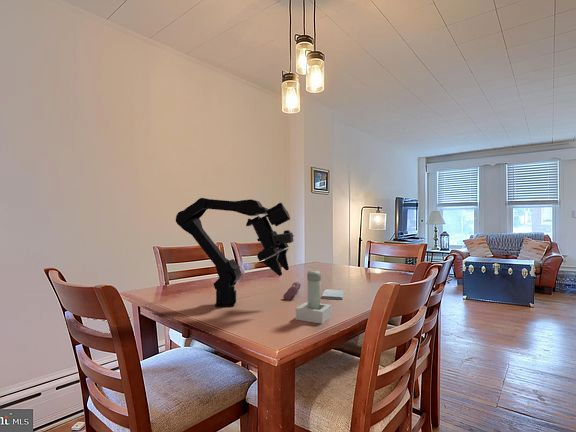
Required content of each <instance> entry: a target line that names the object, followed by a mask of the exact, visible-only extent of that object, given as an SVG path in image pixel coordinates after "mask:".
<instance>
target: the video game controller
mask: <svg viewBox="0 0 576 432" xmlns="http://www.w3.org/2000/svg"><path fill="white" fill-rule="evenodd" d="M301 286H302V284H301V283H300V282H298V281H294V282H293V283H292V284H291V286H290V287H289V288H288V289H287V291H285V293H284V294H283V296H282V297H283V299H284V300H289V299H291V298H293V299H294V298H295V296H296V295H298V294H299V292H300V291H299V290H300V289H301Z"/></svg>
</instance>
